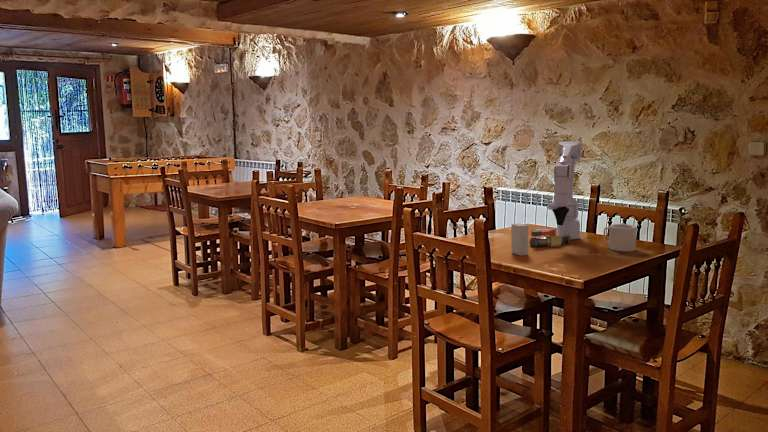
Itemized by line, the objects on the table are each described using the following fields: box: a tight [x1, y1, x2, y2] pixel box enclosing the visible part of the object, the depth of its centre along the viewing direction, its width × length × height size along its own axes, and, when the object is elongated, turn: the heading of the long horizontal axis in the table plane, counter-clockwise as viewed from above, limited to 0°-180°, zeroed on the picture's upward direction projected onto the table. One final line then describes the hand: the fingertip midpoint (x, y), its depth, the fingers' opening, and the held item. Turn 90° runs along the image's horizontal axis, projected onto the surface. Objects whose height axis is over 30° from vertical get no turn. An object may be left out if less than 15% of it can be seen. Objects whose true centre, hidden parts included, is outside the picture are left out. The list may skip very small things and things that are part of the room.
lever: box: [530, 228, 557, 238], centre depth 262 cm, size 12×3×2 cm, turn 117°
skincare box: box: [511, 223, 529, 256], centre depth 248 cm, size 6×4×12 cm
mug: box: [602, 223, 638, 253], centre depth 257 cm, size 14×11×10 cm
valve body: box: [542, 233, 563, 247], centre depth 265 cm, size 7×5×5 cm
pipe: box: [529, 234, 572, 249], centre depth 265 cm, size 18×5×5 cm, turn 112°
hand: (560, 225), depth 258 cm, fingers closed
